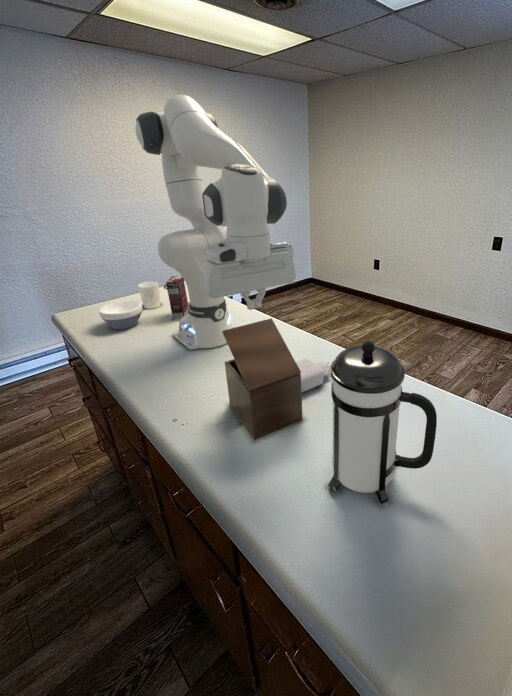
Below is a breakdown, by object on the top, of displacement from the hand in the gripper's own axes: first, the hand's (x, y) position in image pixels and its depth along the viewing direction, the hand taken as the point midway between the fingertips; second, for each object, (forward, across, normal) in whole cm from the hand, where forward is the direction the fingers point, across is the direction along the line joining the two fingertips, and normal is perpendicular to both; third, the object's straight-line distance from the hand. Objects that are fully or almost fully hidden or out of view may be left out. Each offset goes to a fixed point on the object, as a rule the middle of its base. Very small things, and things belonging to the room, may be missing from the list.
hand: (254, 308), depth 81 cm
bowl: (+28, +22, -78) cm, 86 cm away
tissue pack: (+28, -17, -5) cm, 33 cm away
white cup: (+28, +10, -93) cm, 98 cm away
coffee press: (+28, -9, +31) cm, 43 cm away
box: (+28, 0, +1) cm, 28 cm away
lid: (+11, 0, +2) cm, 11 cm away
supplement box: (+28, +2, -75) cm, 80 cm away
